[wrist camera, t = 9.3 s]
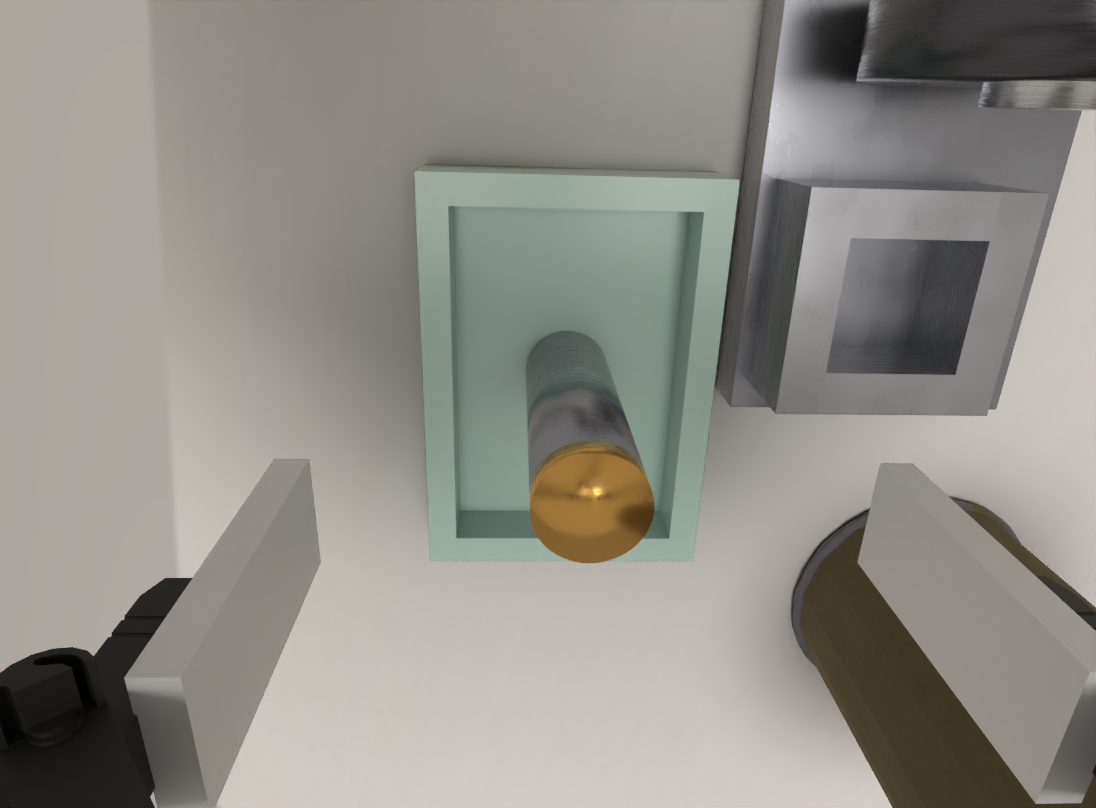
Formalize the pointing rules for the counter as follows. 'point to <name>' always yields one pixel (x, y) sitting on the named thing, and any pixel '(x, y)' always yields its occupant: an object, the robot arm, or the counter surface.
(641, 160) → the counter surface
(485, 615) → the counter surface
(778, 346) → the tensioner
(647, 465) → the tray
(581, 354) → the lock pin
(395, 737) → the counter surface
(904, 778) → the canister
